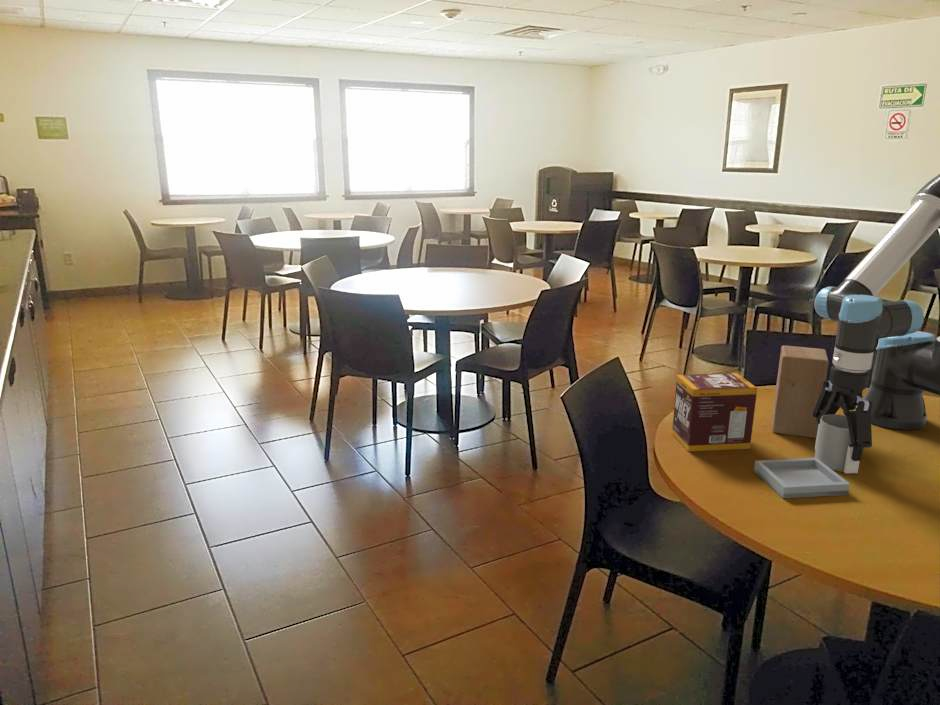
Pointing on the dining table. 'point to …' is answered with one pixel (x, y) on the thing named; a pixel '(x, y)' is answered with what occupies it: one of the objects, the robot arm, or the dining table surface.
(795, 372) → the wooden block
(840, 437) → the cup
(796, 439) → the dining table surface
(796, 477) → the tray
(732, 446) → the supplement box
